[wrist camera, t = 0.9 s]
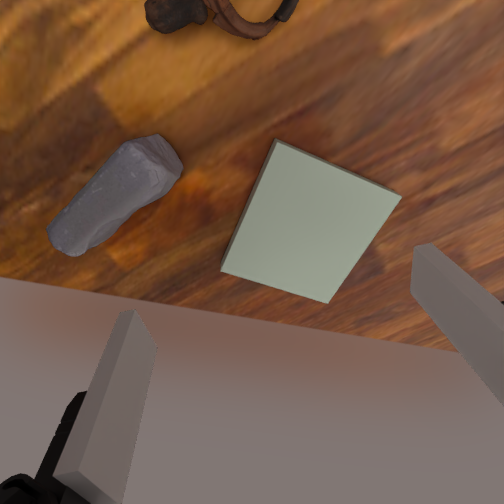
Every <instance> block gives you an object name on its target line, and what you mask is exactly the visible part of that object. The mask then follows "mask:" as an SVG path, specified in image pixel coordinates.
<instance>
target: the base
mask: <svg viewBox="0 0 504 504" xmlns="http://www.w3.org/2000/svg"><path fill="white" fill-rule="evenodd" d="M401 198H402V196H400V195H399V194H398V193H396V192H395V191H394V190H391V189H389V188H387V187H385V186H382V185H380V184H378V183H376V182H373V181H371V180H369V179H367V178H364V177H362V176H360V175H358V174H355V173H353V172H351V171H349V170H346V169H344V168H342V167H339V166H337V165H335V164H333V163H330V162H328V161H326V160H324V159H321V158H319V157H317V156H315V155H312V154H310V153H308V152H306V151H303V150H301V149H299V148H297V147H294V146H292V145H290V144H287V143H285V142H283V141H281V140H278V139H276V138H275V139H274V141H273V143H272V145H271V148H270V150H269V152H268V155H267V157H266V159H265V162H264V164H263V166H262V169H261V171H260V173H259V175H258V178H257V180H256V182H255V185H254V187H253V189H252V192H251V194H250V196H249V198H248V201H247V203H246V205H245V208H244V210H243V212H242V215H241V217H240V219H239V222H238V224H237V226H236V228H235V231H234V233H233V235H232V238H231V240H230V242H229V245H228V247H227V249H226V251H225V254H224V256H223V258H222V261H221V271H222V272H225V273H228V274H232V275H235V276H238V277H242V278H245V279H248V280H251V281H255V282H258V283H261V284H265V285H268V286H271V287H274V288H278V289H281V290H284V291H288V292H291V293H294V294H297V295H301V296H304V297H307V298H311V299H314V300H317V301H320V302H324V303H327V304H328V303H329V301H330V300H331V298H332V297H333V295H334V294H335V293H336V291H337V290H338V288H339V287H340V285H341V284H342V282H343V281H344V280H345V278H346V277H347V275H348V274H349V272H350V271H351V270H352V268H353V267H354V265H355V264H356V262H357V261H358V260H359V258H360V257H361V255H362V254H363V252H364V251H365V249H366V248H367V247H368V245H369V244H370V242H371V241H372V239H373V238H374V237H375V235H376V234H377V232H378V231H379V229H380V228H381V227H382V225H383V224H384V222H385V221H386V219H387V218H388V216H389V215H390V214H391V212H392V211H393V209H394V208H395V206H396V205H397V204H398V202H399V201H400V199H401Z"/></svg>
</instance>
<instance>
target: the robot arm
mask: <svg viewBox="0 0 504 504" xmlns="http://www.w3.org/2000/svg"><path fill="white" fill-rule="evenodd" d="M410 293H411V294H412V296H413V297H414V298H415V299H416V300H417V302H418V303H419V304H420V305H421V307H422V308H423V309H424V310H425V311H426V313H427V314H428V315H429V316H430V317H431V319H432V320H433V321H434V322H435V324H436V325H437V326H438V327H439V328H440V330H441V331H442V332H443V333H444V334H445V336H446V337H447V338H448V339H449V341H450V342H451V343H452V344H453V345H454V347H455V348H456V349H457V350H458V352H459V353H460V354H461V355H462V356H463V358H464V359H465V360H466V361H467V362H468V364H469V365H470V366H471V367H472V369H473V370H474V371H475V372H476V373H477V374H478V376H479V377H480V378H481V380H482V381H483V382H484V383H485V384H486V386H487V387H488V388H489V389H490V390H491V392H492V393H493V394H494V395H495V397H496V398H497V399H498V400H499V401H500V403H501V404H502V405H503V406H504V301H502V302H500V301H498V300H497V299H496V298H495V297H494V296H493V295H491V294H490V293H489V292H488V291H487V290H486V289H484V288H483V287H482V286H481V285H480V284H479V283H477V282H476V281H475V280H474V279H473V278H472V277H470V276H469V275H468V274H467V273H466V272H465V271H463V270H462V269H461V268H460V267H459V266H458V265H456V264H455V263H454V262H453V261H452V260H451V259H449V258H448V257H447V256H446V255H445V254H444V253H442V252H441V251H440V250H439V249H438V248H437V247H435V246H434V245H433V244H432V243H428V244H424V245H419V246H415V247H414V253H413V264H412V275H411V286H410ZM156 352H157V345H156V344H155V342H154V340H153V339H152V337H151V335H150V333H149V332H148V330H147V328H146V327H145V325H144V323H143V321H142V320H141V318H140V316H139V314H138V313H137V311H136V309H134V310H129V311H125V312H120V313H119V316H118V318H117V321H116V323H115V325H114V328H113V330H112V333H111V335H110V338H109V340H108V342H107V345H106V347H105V350H104V352H103V355H102V357H101V359H100V362H99V364H98V367H97V369H96V372H95V374H94V377H93V379H92V381H91V384H90V386H89V389H88V391H84V392H79V393H77V395H76V396H75V397H74V398H73V400H72V401H71V402H70V404H69V405H68V406H67V408H66V410H65V413H64V415H63V417H62V419H61V424H59V426H58V428H57V430H56V432H55V436H54V437H53V439H52V441H51V443H50V446H49V448H48V450H47V452H46V454H45V457H44V459H43V461H42V463H41V466H40V468H39V470H38V472H37V474H36V477H35V479H33V478H31V477H30V476H28V475H26V474H21V473H20V474H17V475H14V476H11V477H10V478H8V479H7V480H5V481H4V482H2V483H1V484H0V504H122V500H123V497H124V492H125V487H126V483H127V479H128V474H129V470H130V466H131V461H132V457H133V452H134V448H135V444H136V440H137V435H138V431H139V426H140V422H141V418H142V413H143V409H144V405H145V400H146V396H147V391H148V387H149V383H150V378H151V373H152V370H153V365H154V361H155V356H156Z"/></svg>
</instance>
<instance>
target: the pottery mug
mask: <svg viewBox="0 0 504 504" xmlns="http://www.w3.org/2000/svg"><path fill="white" fill-rule="evenodd" d="M298 1H299V0H283V2H282V3H281V5H280V7H279V8H278V10H277V11H276V12H275V14H274V15H273V16H272V17H271V18H270V19H269V20H267V21H266V22H264V23H262V22H259V23H252V22H248V21H246V20H244V19H243V18H242V17H241V16H240V15H239V14H238V13H237V12H236V10H235V9H234V7H233V6H232V4H231V3H230V1H229V0H147V1H146V2H145V4H144V6H145V11H146V20H147V22H148V23H149V25H150V26H151V28H153V29H154V30H157V31H159V32H161V33H164V34H167V33H172V32H174V31H176V30H178V29H180V28H183V27H184V26H186V25H187V24H189V23H191V22H195V23H197V24H199V25H202V24H203V23H204V22H205V21H206V19H207V17H208V13H207V8H206V6H208V8H210V9H212V10H213V11H214V12H215V13H216V14H215V16H214V18H213V22H214V23H215V24H216V25H217V26H219V27H220V28H222V29H223V30H225V31H227V32H229V33H230V34H232V35H236V36H239V37H242V38H246V39H252V40H256V39H261V38H262V37H264V36H266V35H267V34H268V33H269V32H270V31H271V30H272V29H273V28H274V27H275V26H276V25H277V23H278V22H279V21H281V22H286V21H287V20H288V19H289V18H290V16H291V15H292V13H293V12H294V10H295V8H296V5H297V3H298Z"/></svg>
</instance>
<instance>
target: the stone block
mask: <svg viewBox="0 0 504 504" xmlns="http://www.w3.org/2000/svg"><path fill="white" fill-rule="evenodd" d="M182 170H183V165H182V163H181V161H180V159H179V158H178V156H177V154H176V152H175V151H174V149H173V148H172V147H171V145H170V144H169V143H168V142H167V141H166V140H165V139H164V138H163V137H161V136H160V135H159V134H154V135H152V136H148V137H140V138H137V139H134V140H129V141H126V142H124V143H123V144H122V145H121V146H120V147H119V148H118V149H117V150H116V151H115V152H114V153H113V154H112V156H111V157H110V158H109V159H108V160H107V161H106V162H105V163H104V165H103V166H102V167H101V168H100V169H99V170H98V171H97V173H96V174H95V175H94V176H93V177H92V178H91V179H90V180H89V182H88V183H87V184H86V185H85V186H84V187H83V188H82V189H81V190H80V191H79V192H78V193H77V194H76V195H75V196H74V198H73V199H72V201H71V202H70V203H69V204H68V205H67V206H66V207H65V208H63V209H62V210H61V211H60V212H59V213H58V214H57V216H56V217H55V218H54V219H53V220H52V221H51V223H50V224H49V225H48V226H47V228H46V231H47V233H48V237H49V240H50V242H51V243H52V245H53V246H54V248H56V249H57V250H59V251H61V252H63V253H65V254H67V255H69V256H80V255H82V254H84V253H85V252H86V251H87V250H88V249H90V248H92V247H96V246H97V245H99V244H100V243H102V242H104V241H106V240H107V239H108V238H109V237H111V236H112V235H113V234H114V233H115V232H116V231H117V230H118V228H119V227H120V226H121V225H122V224H123V223H124V222H125V221H126V220H127V219H128V218H129V217H130V216H131V215H132V213H134V212H136V211H137V210H138V209H139V208H141V207H144V206H145V205H147V204H149V203H151V202H153V201H155V200H157V199H159V198H161V197H162V196H164V195H165V194H166V193H167V192H168V191H170V189H171V188H172V186H173V185H174V183H175V182H176V181H177V179H179V178H180V174H181V172H182Z"/></svg>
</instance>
